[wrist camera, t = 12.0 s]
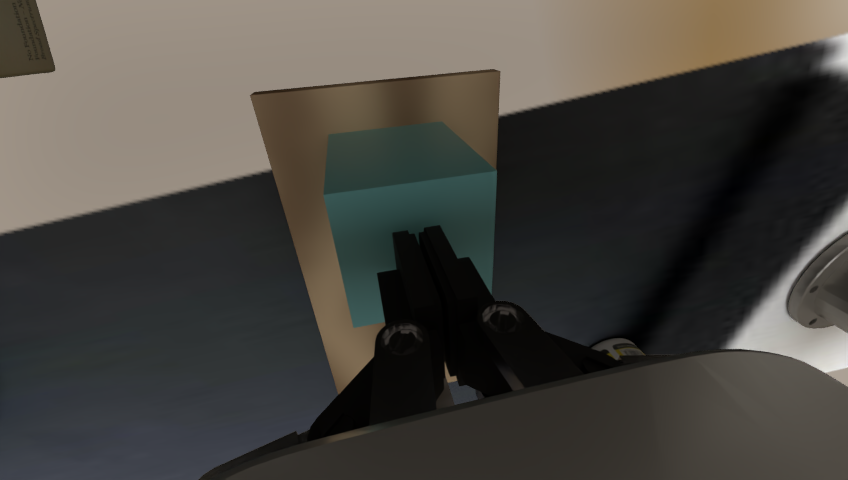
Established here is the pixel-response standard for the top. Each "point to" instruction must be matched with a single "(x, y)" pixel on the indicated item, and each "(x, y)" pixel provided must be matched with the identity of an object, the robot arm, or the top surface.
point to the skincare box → (23, 40)
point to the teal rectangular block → (404, 203)
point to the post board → (306, 163)
